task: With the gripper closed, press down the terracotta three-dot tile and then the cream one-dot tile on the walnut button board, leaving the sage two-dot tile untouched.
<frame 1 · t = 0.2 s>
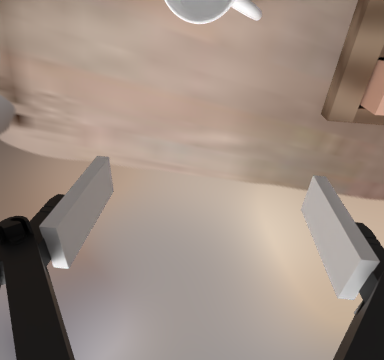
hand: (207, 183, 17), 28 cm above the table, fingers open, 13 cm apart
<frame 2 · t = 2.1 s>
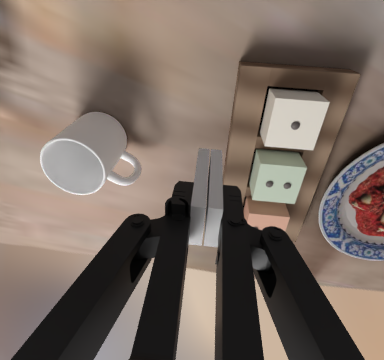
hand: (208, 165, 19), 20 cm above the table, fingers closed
tile three: (263, 220, 42), point 5 cm above the table, slide at 0.0 cm
cup: (114, 140, 42), on the table
tile one: (291, 119, 33), point 5 cm above the table, slide at 0.0 cm
button board: (270, 160, 41), on the table
tile two: (275, 176, 37), point 5 cm above the table, slide at 0.0 cm
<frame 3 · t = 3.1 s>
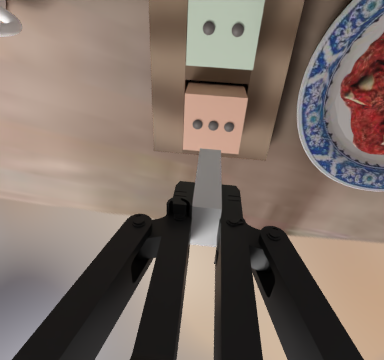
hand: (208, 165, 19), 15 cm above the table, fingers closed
tile three: (213, 118, 28), point 5 cm above the table, slide at 0.0 cm
button board: (222, 24, 27), on the table
tile two: (222, 27, 23), point 5 cm above the table, slide at 0.0 cm
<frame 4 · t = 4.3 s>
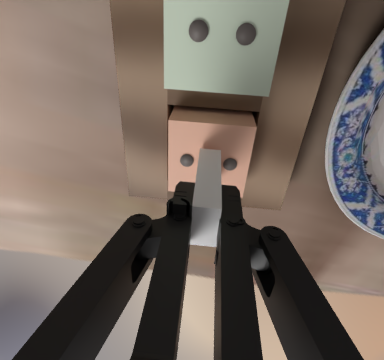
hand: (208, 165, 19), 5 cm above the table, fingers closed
tile three: (209, 149, 21), point 3 cm above the table, slide at 1.6 cm
button board: (221, 25, 19), on the table
tile two: (221, 29, 15), point 5 cm above the table, slide at 0.0 cm
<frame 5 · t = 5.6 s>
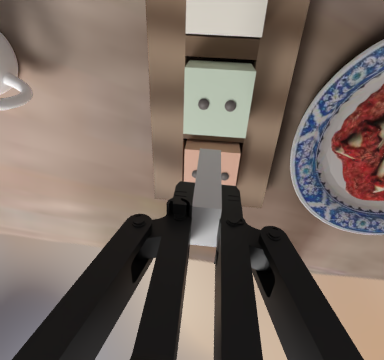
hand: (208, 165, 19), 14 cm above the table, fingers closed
tile three: (210, 165, 31), point 3 cm above the table, slide at 1.8 cm
cup: (2, 64, 30), on the table
button board: (217, 87, 29), on the table
tile two: (217, 98, 25), point 5 cm above the table, slide at 0.0 cm
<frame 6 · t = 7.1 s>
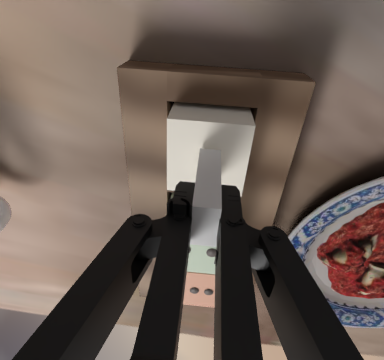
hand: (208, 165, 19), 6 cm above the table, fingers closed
tile three: (195, 273, 31), point 3 cm above the table, slide at 1.8 cm
tile one: (208, 147, 21), point 3 cm above the table, slide at 1.2 cm
button board: (202, 203, 29), on the table
tile two: (199, 233, 25), point 5 cm above the table, slide at 0.0 cm
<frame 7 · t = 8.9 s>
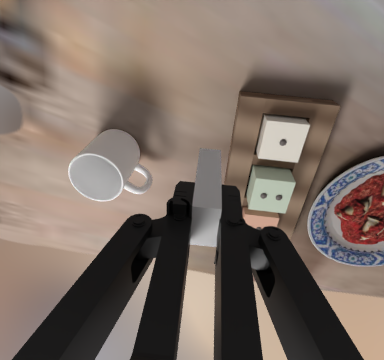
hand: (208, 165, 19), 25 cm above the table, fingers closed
tile three: (257, 221, 49), point 3 cm above the table, slide at 1.8 cm
cup: (128, 154, 48), on the table
tile one: (280, 136, 40), point 3 cm above the table, slide at 1.8 cm
ceramic plate: (376, 209, 49), on the table
button board: (265, 175, 47), on the table
tile two: (269, 189, 43), point 5 cm above the table, slide at 0.0 cm
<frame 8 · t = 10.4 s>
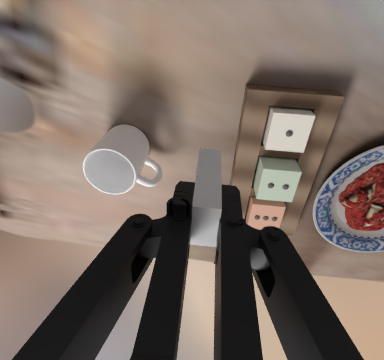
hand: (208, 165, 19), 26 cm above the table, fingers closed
tile three: (264, 210, 51), point 3 cm above the table, slide at 1.8 cm
cup: (137, 148, 49), on the table
tile one: (286, 128, 41), point 3 cm above the table, slide at 1.8 cm
ceramic plate: (379, 197, 51), on the table
button board: (271, 165, 48), on the table
tile two: (275, 179, 45), point 5 cm above the table, slide at 0.0 cm
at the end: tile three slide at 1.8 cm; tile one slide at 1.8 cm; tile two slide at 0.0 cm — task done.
